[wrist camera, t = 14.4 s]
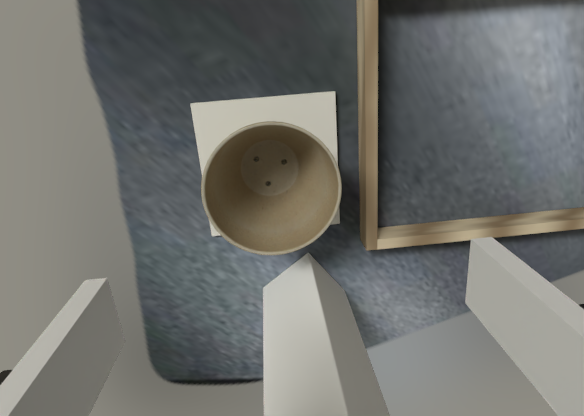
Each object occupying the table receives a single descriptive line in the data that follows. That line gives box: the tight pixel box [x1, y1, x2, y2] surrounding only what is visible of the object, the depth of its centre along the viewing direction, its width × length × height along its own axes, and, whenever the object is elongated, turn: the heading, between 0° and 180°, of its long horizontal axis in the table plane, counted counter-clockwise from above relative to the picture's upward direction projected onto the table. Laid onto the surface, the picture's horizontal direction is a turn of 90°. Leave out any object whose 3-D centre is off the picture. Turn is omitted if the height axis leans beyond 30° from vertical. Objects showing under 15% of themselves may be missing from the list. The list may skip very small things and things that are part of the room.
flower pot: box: [201, 121, 342, 255], centre depth 31 cm, size 10×10×7 cm
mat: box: [190, 91, 340, 236], centre depth 35 cm, size 12×12×1 cm
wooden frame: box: [357, 0, 584, 251], centre depth 34 cm, size 26×22×2 cm
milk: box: [263, 253, 390, 416], centre depth 29 cm, size 6×6×22 cm
